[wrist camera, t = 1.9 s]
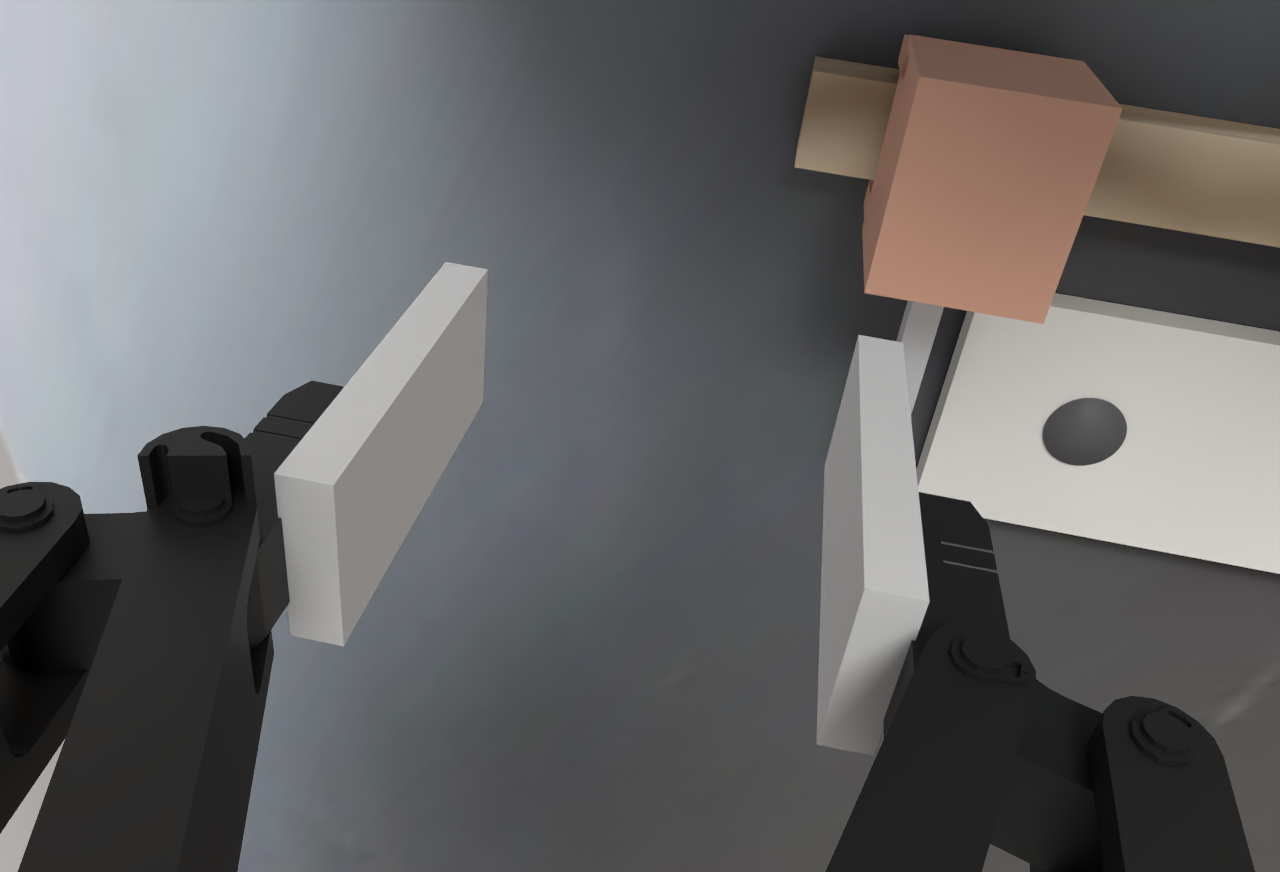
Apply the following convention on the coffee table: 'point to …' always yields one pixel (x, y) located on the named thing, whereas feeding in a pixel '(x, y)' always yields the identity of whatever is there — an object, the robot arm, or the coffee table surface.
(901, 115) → the sliding leg
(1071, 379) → the hole plate
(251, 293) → the coffee table surface
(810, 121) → the rail
